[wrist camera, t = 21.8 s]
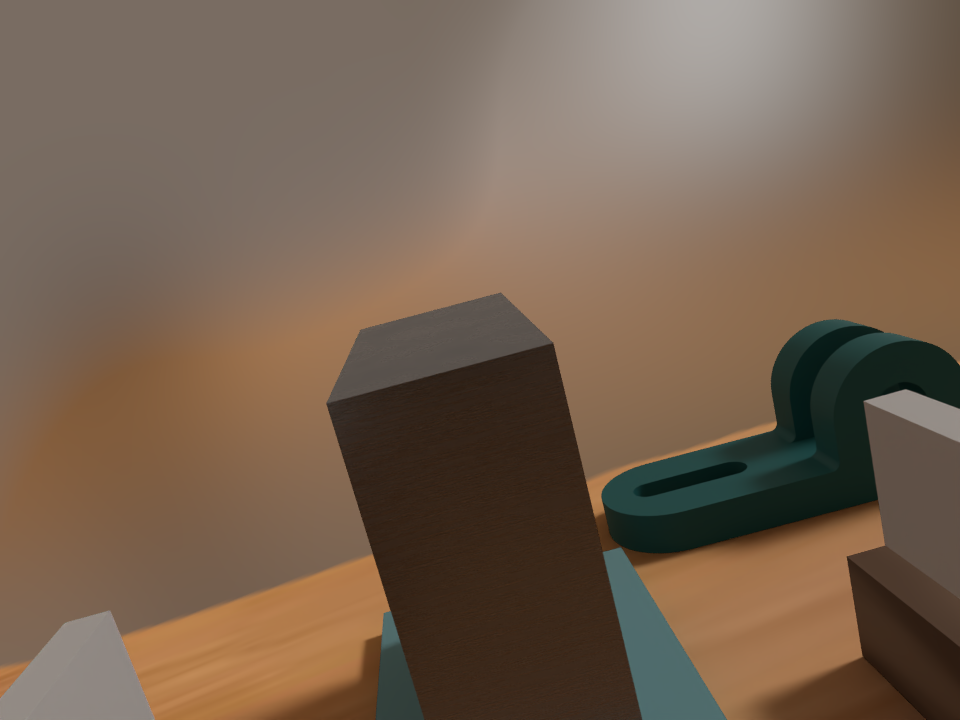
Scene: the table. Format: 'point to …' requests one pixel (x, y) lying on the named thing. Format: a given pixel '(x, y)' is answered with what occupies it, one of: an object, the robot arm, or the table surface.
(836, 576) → the table surface
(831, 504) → the bracket
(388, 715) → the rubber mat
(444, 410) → the dark grey block
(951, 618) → the slotted block
